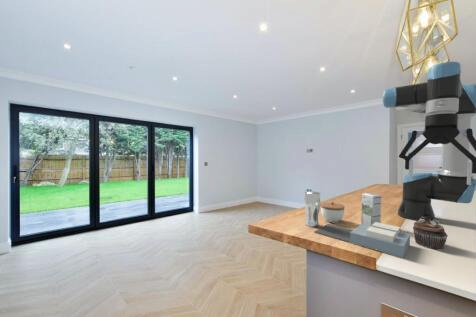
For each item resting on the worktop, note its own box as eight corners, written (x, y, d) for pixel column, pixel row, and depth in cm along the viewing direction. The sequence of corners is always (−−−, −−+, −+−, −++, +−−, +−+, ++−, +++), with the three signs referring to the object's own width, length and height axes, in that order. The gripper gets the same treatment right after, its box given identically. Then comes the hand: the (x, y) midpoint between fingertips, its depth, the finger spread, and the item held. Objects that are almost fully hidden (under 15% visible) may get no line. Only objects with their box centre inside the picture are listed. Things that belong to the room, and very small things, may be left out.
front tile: (370, 231, 82) (370, 226, 82) (396, 237, 77) (396, 232, 76) (365, 235, 78) (366, 230, 78) (392, 242, 73) (393, 236, 73)
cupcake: (414, 246, 79) (415, 219, 79) (411, 237, 88) (412, 212, 87) (450, 253, 74) (451, 224, 74) (443, 243, 82) (445, 217, 82)
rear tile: (375, 226, 88) (375, 221, 87) (399, 232, 82) (400, 227, 82) (371, 230, 84) (371, 225, 84) (397, 236, 78) (397, 230, 78)
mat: (328, 224, 101) (328, 223, 101) (361, 233, 91) (361, 232, 91) (314, 232, 91) (314, 231, 91) (349, 242, 81) (349, 241, 81)
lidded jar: (331, 225, 100) (332, 205, 100) (315, 218, 110) (316, 200, 109) (349, 223, 104) (349, 203, 104) (331, 216, 114) (332, 198, 114)
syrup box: (381, 226, 100) (382, 194, 99) (371, 228, 98) (373, 195, 97) (369, 222, 105) (370, 192, 104) (360, 223, 103) (361, 193, 102)
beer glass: (304, 226, 98) (305, 193, 97) (303, 221, 105) (304, 190, 104) (320, 228, 96) (321, 194, 96) (318, 223, 103) (319, 191, 102)
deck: (361, 233, 91) (361, 223, 91) (409, 245, 80) (410, 234, 80) (349, 242, 81) (350, 232, 81) (403, 258, 70) (403, 246, 70)
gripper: (391, 116, 74) (388, 178, 75) (506, 107, 57) (501, 188, 58) (394, 119, 80) (392, 177, 80) (500, 112, 63) (496, 185, 63)
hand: (437, 182), depth 69 cm, fingers open, 13 cm apart
